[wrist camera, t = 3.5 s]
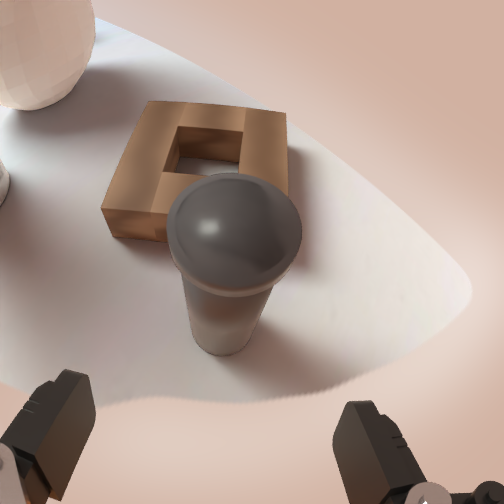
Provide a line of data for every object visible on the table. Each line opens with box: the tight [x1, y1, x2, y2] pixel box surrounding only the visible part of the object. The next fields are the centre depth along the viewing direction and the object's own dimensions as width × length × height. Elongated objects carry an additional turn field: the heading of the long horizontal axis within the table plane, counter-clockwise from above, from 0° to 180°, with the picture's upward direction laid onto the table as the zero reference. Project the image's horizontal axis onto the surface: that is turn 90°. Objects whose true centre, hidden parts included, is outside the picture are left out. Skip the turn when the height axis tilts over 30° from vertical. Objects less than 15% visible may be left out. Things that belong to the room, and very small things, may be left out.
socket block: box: [101, 101, 288, 242], centre depth 28 cm, size 14×14×4 cm
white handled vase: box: [0, 0, 96, 111], centre depth 25 cm, size 19×18×25 cm
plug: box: [166, 173, 302, 356], centre depth 17 cm, size 5×5×13 cm
